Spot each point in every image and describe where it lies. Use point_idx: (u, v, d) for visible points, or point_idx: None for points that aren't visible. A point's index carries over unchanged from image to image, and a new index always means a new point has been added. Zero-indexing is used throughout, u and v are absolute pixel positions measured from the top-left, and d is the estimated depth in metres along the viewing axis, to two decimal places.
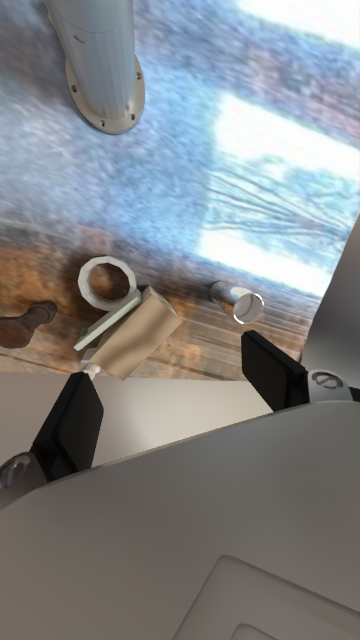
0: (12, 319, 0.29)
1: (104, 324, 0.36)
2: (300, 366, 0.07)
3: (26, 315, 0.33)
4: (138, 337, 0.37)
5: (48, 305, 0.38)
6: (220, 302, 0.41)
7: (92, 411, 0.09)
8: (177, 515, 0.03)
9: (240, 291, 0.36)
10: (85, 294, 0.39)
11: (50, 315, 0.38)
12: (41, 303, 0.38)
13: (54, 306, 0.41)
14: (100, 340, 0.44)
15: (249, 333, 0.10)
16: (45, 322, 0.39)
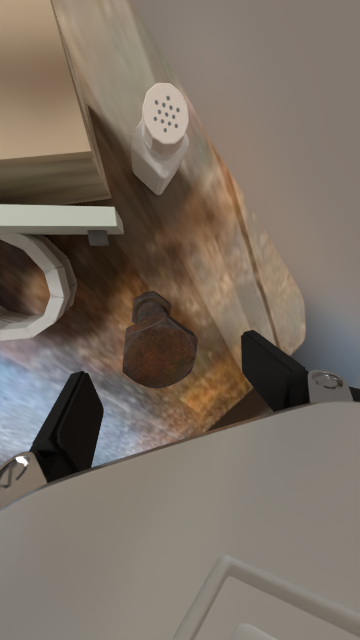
0: (129, 376, 0.13)
1: None
2: (300, 365, 0.07)
3: None
4: None
5: (132, 315, 0.22)
6: None
7: (92, 411, 0.09)
8: (177, 515, 0.03)
9: None
10: (56, 297, 0.19)
11: (138, 303, 0.21)
12: None
13: None
14: (101, 188, 0.17)
15: (249, 333, 0.10)
16: (155, 298, 0.21)
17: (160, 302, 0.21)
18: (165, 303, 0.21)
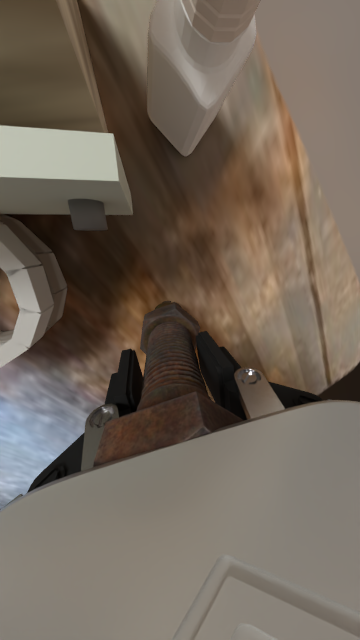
0: None
1: None
2: (229, 364, 0.08)
3: None
4: None
5: None
6: None
7: (140, 383, 0.11)
8: (177, 515, 0.03)
9: None
10: (28, 312, 0.12)
11: (150, 324, 0.13)
12: None
13: None
14: None
15: (201, 334, 0.11)
16: (176, 317, 0.13)
17: (184, 324, 0.13)
18: (192, 325, 0.14)
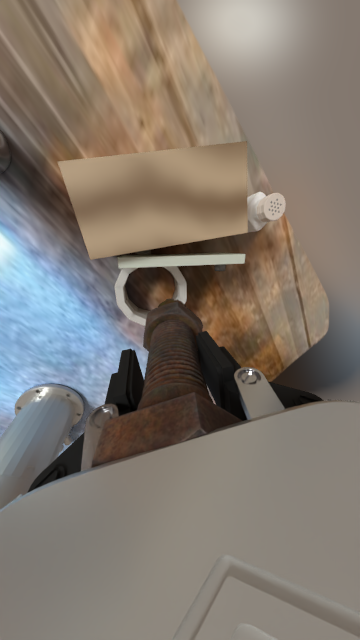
0: None
1: (187, 263, 0.23)
2: (229, 364, 0.08)
3: None
4: (158, 205, 0.19)
5: None
6: None
7: (140, 383, 0.11)
8: (177, 515, 0.03)
9: None
10: (182, 299, 0.31)
11: (152, 322, 0.13)
12: None
13: None
14: None
15: (201, 334, 0.11)
16: (179, 315, 0.13)
17: (187, 322, 0.13)
18: (194, 323, 0.13)
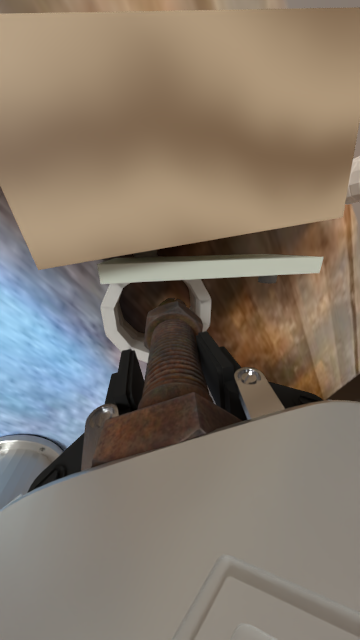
0: None
1: (225, 273, 0.13)
2: (229, 364, 0.08)
3: None
4: (180, 154, 0.09)
5: None
6: None
7: (140, 383, 0.11)
8: (177, 515, 0.03)
9: None
10: (203, 324, 0.21)
11: (153, 321, 0.13)
12: None
13: None
14: None
15: (201, 334, 0.11)
16: (179, 315, 0.13)
17: (187, 321, 0.13)
18: (195, 323, 0.13)
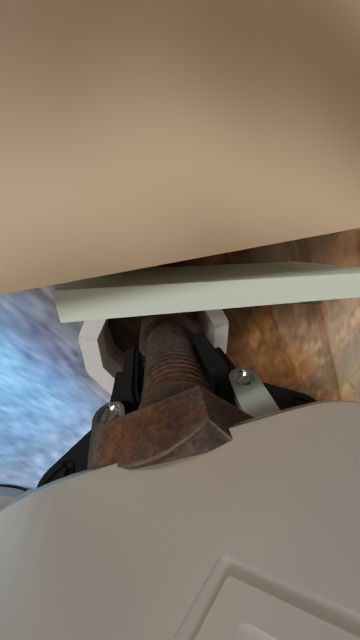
0: None
1: (267, 298, 0.08)
2: (224, 364, 0.08)
3: None
4: (210, 64, 0.04)
5: None
6: None
7: None
8: (177, 515, 0.03)
9: None
10: None
11: (148, 325, 0.13)
12: None
13: None
14: None
15: (197, 334, 0.11)
16: (175, 317, 0.13)
17: (183, 323, 0.13)
18: (191, 324, 0.13)
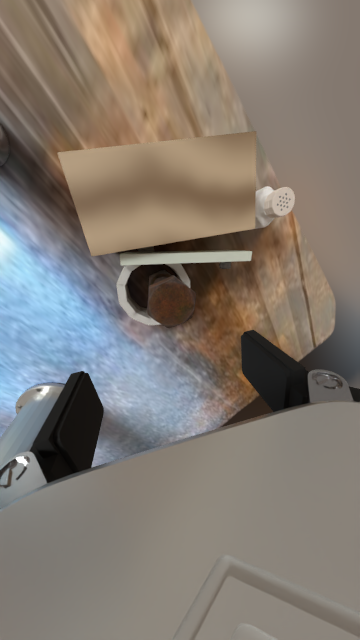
0: (151, 317, 0.20)
1: (192, 260, 0.23)
2: (300, 366, 0.07)
3: None
4: (162, 199, 0.18)
5: (148, 288, 0.29)
6: None
7: (92, 411, 0.09)
8: (177, 515, 0.03)
9: None
10: None
11: (153, 278, 0.27)
12: None
13: None
14: None
15: (249, 333, 0.10)
16: (165, 274, 0.28)
17: (169, 277, 0.28)
18: None
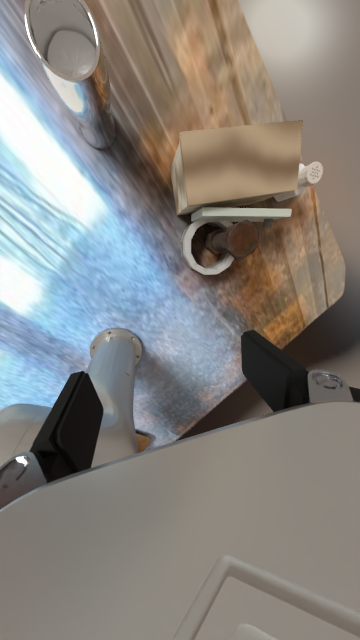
0: (228, 249, 0.29)
1: (250, 214, 0.31)
2: (300, 366, 0.07)
3: (223, 247, 0.33)
4: (239, 166, 0.27)
5: (207, 244, 0.38)
6: (107, 106, 0.24)
7: (92, 411, 0.09)
8: (177, 515, 0.03)
9: (68, 93, 0.20)
10: None
11: (212, 234, 0.36)
12: (209, 249, 0.38)
13: (206, 240, 0.40)
14: (263, 199, 0.37)
15: (249, 333, 0.10)
16: (222, 231, 0.36)
17: None
18: None
